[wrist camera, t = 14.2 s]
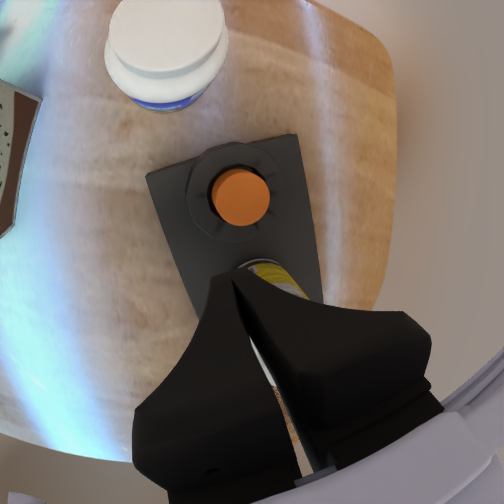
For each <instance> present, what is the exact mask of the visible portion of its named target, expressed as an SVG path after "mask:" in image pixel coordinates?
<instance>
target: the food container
mask: <svg viewBox="0 0 504 504" xmlns="http://www.w3.org/2000/svg"><path fill="white" fill-rule="evenodd" d="M42 100H43V99H41V98H39V97H37V96H35V95H33V94H30V93H28V92H26V91H24V90H22V89H20V88H18V87H16V86H14V85H12V84H10V83H8V82H6V81H4V80H1V79H0V239H1V238H2V237H3V236H4V235H5V234H6V233H7V232H8V231H9V230H10V229H11V228H12V227H13V226H14V225H15V216H16V208H17V201H18V194H19V188H20V182H21V177H22V172H23V167H24V163H25V158H26V154H27V150H28V146H29V142H30V138H31V134H32V131H33V127H34V124H35V121H36V118H37V114H38V111H39V108H40V105H41V103H42Z"/></svg>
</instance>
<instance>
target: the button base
mask: <svg viewBox="0 0 504 504" xmlns="http://www.w3.org/2000/svg"><path fill="white" fill-rule="evenodd" d="M231 169H245V170H247V171H249V172H251V173H253V174H255V175H257V176H259V177H260V178H261V179H262V180H263V181H264V182H265V183H266V185H267V187H268V190H269V194H270V201H269V206H268V208H267V210H266V212H265V214H264V215H263V216H262V217H261V218H260V219H259V220H258V221H256V222H254V223H253V224H250V225H246V226H237V225H233V224H230V223H228V222H227V221H225V220H224V219H223V218H222V217H221V216H220V214H219V212H218V211H217V209H216V207H215V205H214V203H213V200H212V189H213V186H214V183H215V181H216V180H217V179H218V177H219V176H220V175H221V174H223V173H224V172H226V171H228V170H231ZM145 178H146V181H147V184H148V187H149V190H150V193H151V196H152V199H153V202H154V205H155V208H156V211H157V214H158V217H159V219H160V222H161V225H162V228H163V231H164V233H165V236H166V239H167V242H168V244H169V247H170V250H171V252H172V255H173V258H174V260H175V263H176V265H177V268H178V271H179V273H180V276H181V278H182V281H183V283H184V286H185V288H186V290H187V293H188V295H189V298H190V300H191V303H192V305H193V307H194V310H195V312H196V314H197V317H198V319H199V321H200V319H201V316H202V313H203V310H204V307H205V303H206V300H207V296H208V291H209V285H210V279H211V277H213V276H216V275H219V274H222V273H225V272H228V271H231V270H234V269H237V268H238V267H239V266H241V265H242V264H244V263H246V262H248V261H251V260H255V259H270V260H273V261H275V262H277V263H279V264H280V265H281V266H282V267H283V268H284V269H285V270H286V271H287V273H288V274H289V275H290V276H291V277H292V279H293V280H294V281H295V282H296V284H297V285H298V286H299V287H300V289H301V290H302V291H303V292H304V294H305V295H306V296H307V297H308V298H309V300H311V301H314V302H318V303H321V304H324V303H323V294H322V285H321V277H320V269H319V261H318V254H317V247H316V240H315V233H314V226H313V220H312V213H311V207H310V201H309V195H308V189H307V184H306V178H305V173H304V167H303V162H302V157H301V152H300V147H299V142H298V137H297V134H286V135H281V136H277V137H272V138H268V139H263V140H259V141H255V142H251V143H247V144H243V143H239V142H231V143H227V144H223V145H220V146H216V147H212V148H210V149H208V150H207V151H206V152H205V153H204V154H203V155H202V156H199V157H196V158H193V159H190V160H186V161H183V162H180V163H177V164H174V165H171V166H168V167H165V168H162V169H159V170H156V171H153V172H150V173H148V174H147V175H146V176H145Z"/></svg>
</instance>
